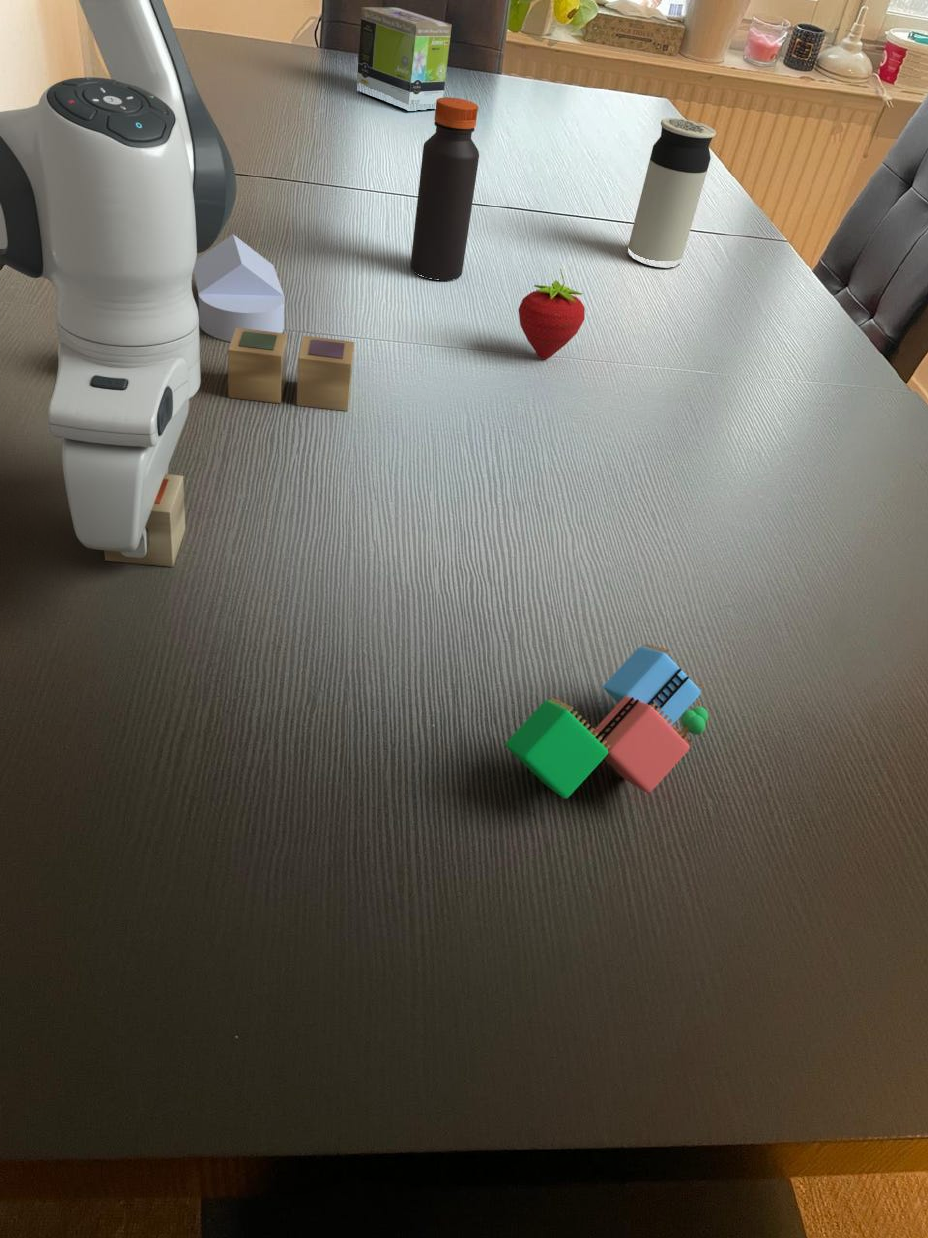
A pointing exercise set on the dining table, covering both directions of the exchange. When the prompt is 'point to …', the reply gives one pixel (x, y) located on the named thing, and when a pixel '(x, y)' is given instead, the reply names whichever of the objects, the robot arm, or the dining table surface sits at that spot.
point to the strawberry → (551, 317)
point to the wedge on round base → (237, 291)
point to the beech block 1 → (257, 365)
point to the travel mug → (671, 190)
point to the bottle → (446, 191)
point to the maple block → (162, 526)
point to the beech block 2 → (324, 373)
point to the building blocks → (616, 728)
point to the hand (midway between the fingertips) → (144, 527)
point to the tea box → (403, 54)
